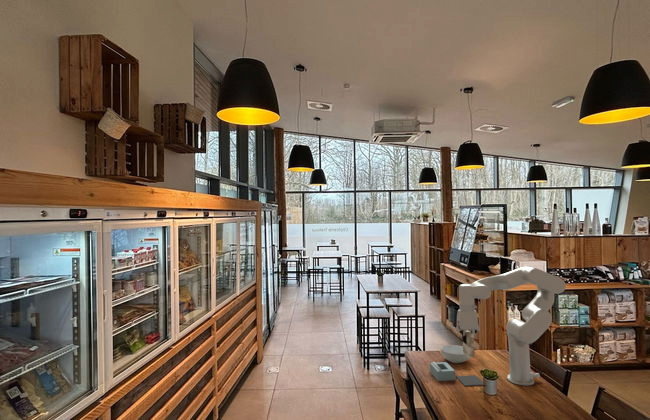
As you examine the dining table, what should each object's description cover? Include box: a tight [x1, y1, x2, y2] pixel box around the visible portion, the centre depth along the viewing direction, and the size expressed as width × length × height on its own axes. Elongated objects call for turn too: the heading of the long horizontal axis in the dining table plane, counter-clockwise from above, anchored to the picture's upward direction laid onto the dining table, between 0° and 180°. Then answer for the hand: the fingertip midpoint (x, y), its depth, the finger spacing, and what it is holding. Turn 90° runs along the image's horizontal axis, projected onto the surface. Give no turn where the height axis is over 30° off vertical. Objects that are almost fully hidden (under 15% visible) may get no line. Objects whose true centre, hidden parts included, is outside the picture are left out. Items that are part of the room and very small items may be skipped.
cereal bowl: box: [440, 344, 470, 364], centre depth 214 cm, size 17×17×7 cm
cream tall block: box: [462, 330, 476, 359], centre depth 187 cm, size 3×6×12 cm, turn 3°
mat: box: [455, 374, 484, 387], centre depth 186 cm, size 11×11×1 cm
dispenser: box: [429, 361, 456, 382], centre depth 194 cm, size 9×12×6 cm
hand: (468, 342), depth 187 cm, fingers closed on cream tall block, 3 cm apart
